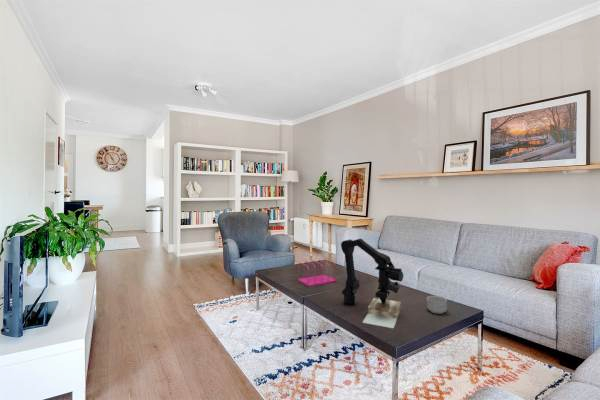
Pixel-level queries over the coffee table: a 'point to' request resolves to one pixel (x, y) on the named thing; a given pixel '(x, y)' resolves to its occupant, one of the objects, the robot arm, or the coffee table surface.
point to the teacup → (437, 304)
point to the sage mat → (380, 320)
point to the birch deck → (392, 311)
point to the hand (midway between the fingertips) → (383, 305)
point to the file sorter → (316, 279)
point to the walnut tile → (382, 307)
